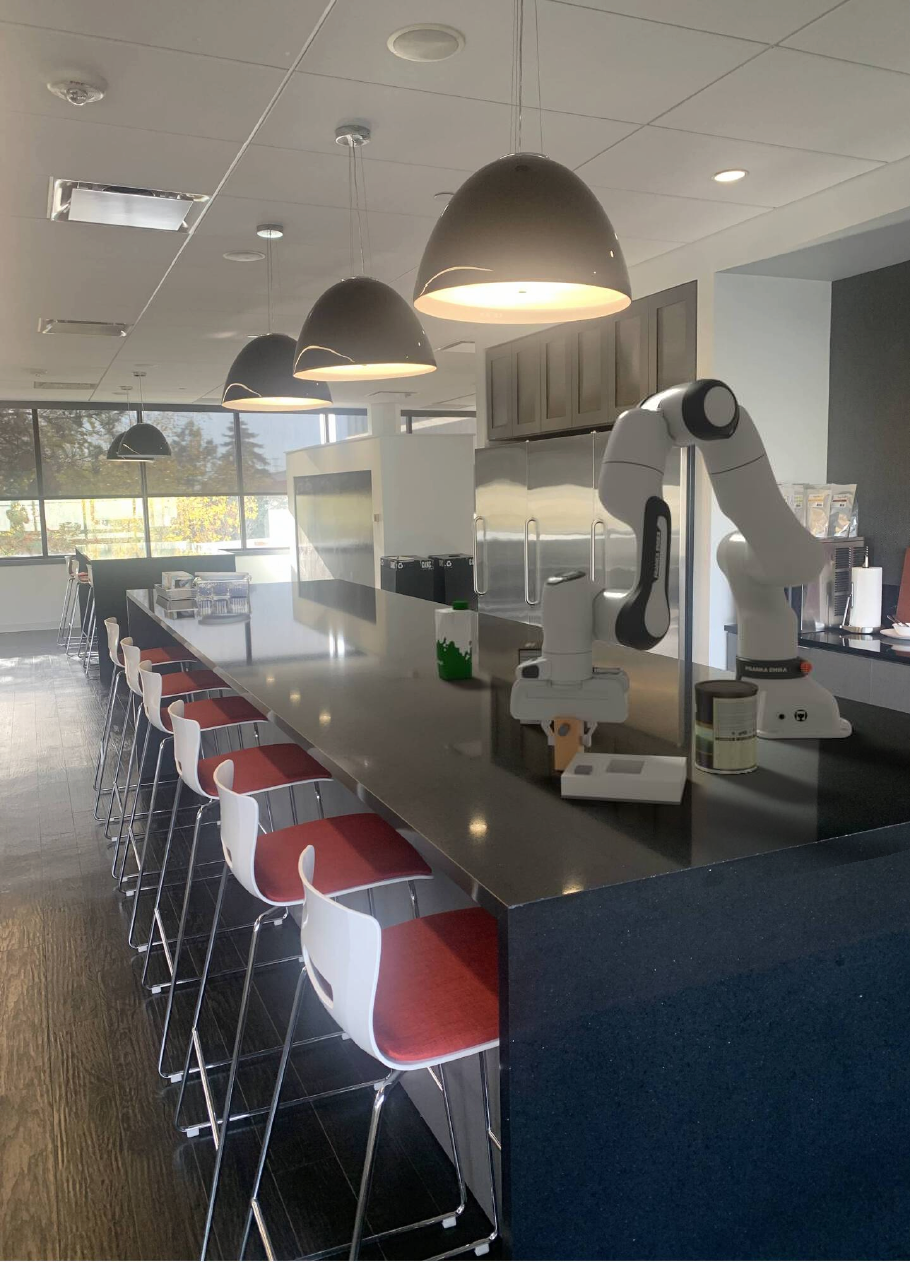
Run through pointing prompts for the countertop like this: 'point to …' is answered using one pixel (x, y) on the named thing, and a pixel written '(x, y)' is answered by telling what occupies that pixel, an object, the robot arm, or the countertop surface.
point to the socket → (625, 778)
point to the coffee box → (524, 654)
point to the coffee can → (726, 726)
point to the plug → (567, 740)
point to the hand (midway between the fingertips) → (569, 745)
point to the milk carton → (454, 641)
